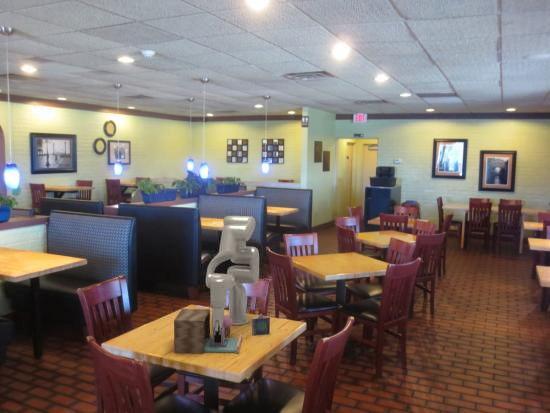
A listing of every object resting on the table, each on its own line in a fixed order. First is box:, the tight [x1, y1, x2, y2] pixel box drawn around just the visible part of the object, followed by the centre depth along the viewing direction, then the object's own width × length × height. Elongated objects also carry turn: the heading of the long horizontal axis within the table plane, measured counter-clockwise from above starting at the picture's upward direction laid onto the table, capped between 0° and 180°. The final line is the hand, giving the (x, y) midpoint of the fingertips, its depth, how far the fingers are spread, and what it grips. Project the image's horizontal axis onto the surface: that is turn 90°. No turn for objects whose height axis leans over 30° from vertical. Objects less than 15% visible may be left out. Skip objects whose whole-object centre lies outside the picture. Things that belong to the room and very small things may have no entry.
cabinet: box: [173, 308, 211, 354], centre depth 226 cm, size 14×17×16 cm
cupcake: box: [223, 315, 233, 337], centre depth 241 cm, size 9×9×10 cm
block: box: [212, 327, 226, 345], centre depth 226 cm, size 5×5×7 cm
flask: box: [251, 313, 271, 336], centre depth 242 cm, size 9×3×11 cm, turn 102°
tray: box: [204, 332, 243, 354], centre depth 226 cm, size 18×17×3 cm
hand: (218, 339), depth 226 cm, fingers closed on block, 5 cm apart
